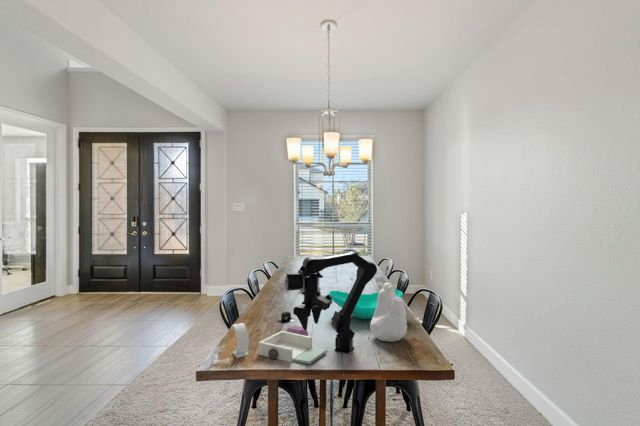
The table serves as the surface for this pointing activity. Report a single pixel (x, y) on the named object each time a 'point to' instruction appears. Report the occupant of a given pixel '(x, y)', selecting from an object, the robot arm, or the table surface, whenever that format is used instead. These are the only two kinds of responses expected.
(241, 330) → the headphone stand
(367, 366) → the table surface
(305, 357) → the panel
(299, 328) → the dome-topped mauve block
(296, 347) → the wagon bed
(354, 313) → the table top decor
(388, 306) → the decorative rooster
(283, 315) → the black grey mechanical block
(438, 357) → the table surface
